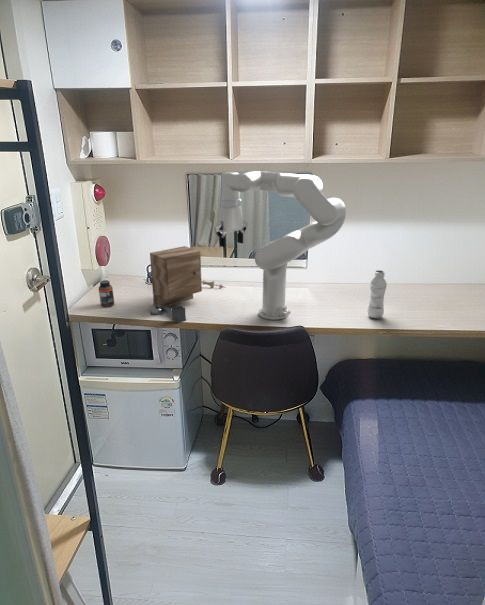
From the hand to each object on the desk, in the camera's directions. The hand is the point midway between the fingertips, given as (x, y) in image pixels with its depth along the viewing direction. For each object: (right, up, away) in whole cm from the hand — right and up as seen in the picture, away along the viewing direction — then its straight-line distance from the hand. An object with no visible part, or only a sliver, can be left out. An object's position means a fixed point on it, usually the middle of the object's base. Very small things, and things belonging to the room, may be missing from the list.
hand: (231, 244), depth 192 cm
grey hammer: (-26, -30, +2) cm, 40 cm away
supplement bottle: (-56, -26, +12) cm, 63 cm away
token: (-32, -29, +4) cm, 44 cm away
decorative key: (-13, -17, +35) cm, 41 cm away
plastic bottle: (+60, -31, -1) cm, 68 cm away
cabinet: (-24, -25, +14) cm, 38 cm away
